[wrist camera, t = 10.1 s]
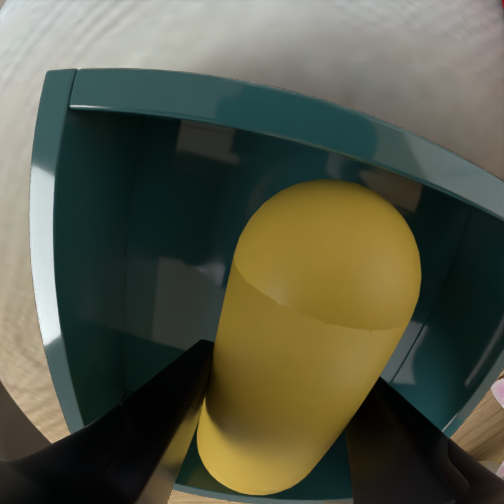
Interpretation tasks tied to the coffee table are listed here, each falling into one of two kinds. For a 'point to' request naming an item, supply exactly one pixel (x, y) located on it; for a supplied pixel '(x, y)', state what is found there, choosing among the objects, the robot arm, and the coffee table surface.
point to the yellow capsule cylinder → (304, 330)
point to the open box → (227, 235)
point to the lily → (500, 390)
